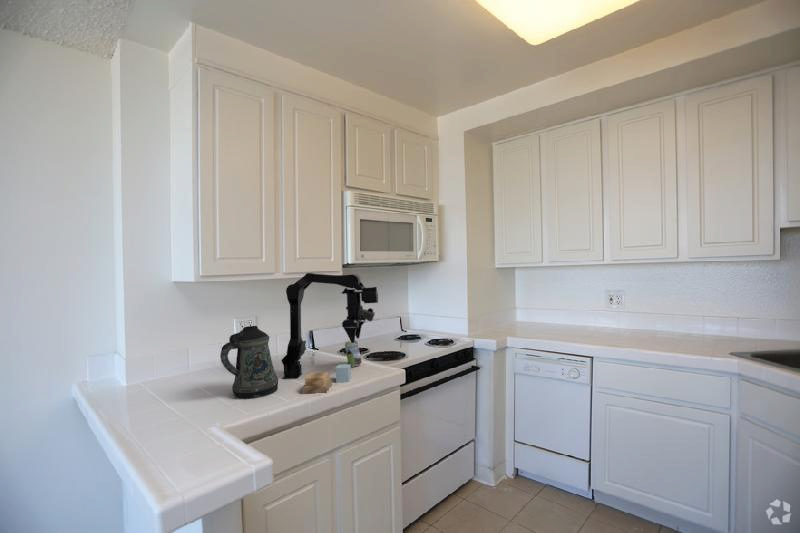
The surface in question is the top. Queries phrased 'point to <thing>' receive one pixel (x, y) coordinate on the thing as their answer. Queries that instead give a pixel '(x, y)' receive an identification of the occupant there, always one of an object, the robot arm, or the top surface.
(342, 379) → the slate block
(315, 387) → the bottom block
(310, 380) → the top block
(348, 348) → the beverage can
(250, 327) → the beer stein
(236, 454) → the top surface
